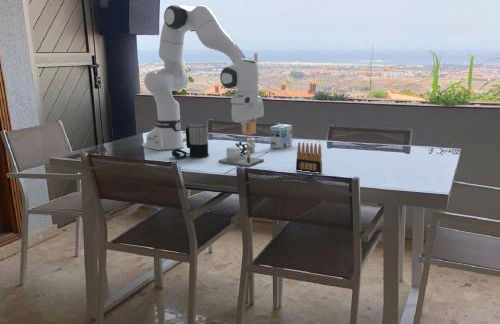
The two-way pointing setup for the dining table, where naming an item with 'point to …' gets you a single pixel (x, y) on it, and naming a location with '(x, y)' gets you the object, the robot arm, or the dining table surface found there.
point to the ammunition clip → (309, 158)
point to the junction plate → (239, 158)
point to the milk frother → (195, 141)
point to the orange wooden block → (250, 128)
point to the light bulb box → (281, 136)
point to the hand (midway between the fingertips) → (248, 129)
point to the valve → (247, 146)
